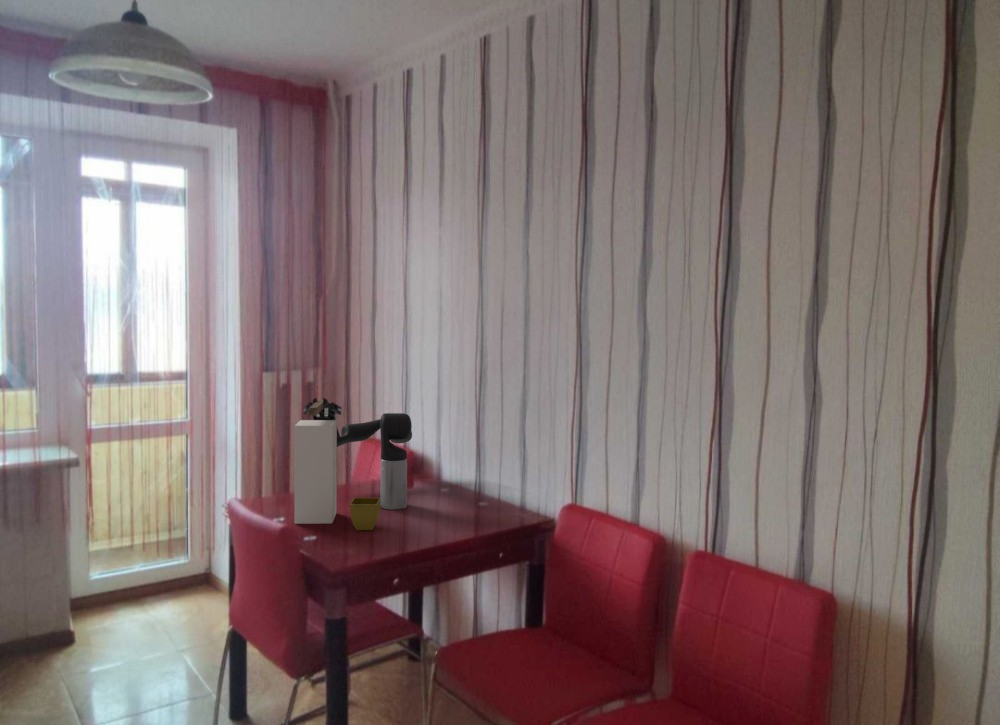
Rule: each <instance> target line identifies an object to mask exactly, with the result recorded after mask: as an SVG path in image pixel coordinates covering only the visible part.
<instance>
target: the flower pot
mask: <svg viewBox="0 0 1000 725" xmlns="http://www.w3.org/2000/svg"><path fill="white" fill-rule="evenodd" d="M380 500H381V498H380V497H353V498H352V499H351V502H350V503H349V511H350V512H349V513H350V517H351V518H350V519H351V523H352V524H353V527H354V528H355V530H356V531H372V530H374V527H375V526H376V524H377V521H378V520H379V515H380V512H381V511H380V508H381V507H380Z"/></svg>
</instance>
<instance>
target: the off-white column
mask: <svg viewBox="0 0 1000 725" xmlns="http://www.w3.org/2000/svg"><path fill="white" fill-rule="evenodd" d="M337 422H338V420H337V419H336V420H314V419H301V420H299V421H298V422H297V423H296V424H295V425H294V427H293V428H294V432H293V433H294V440H293V442H294V444H293V445H294V446H293V447H294V453H293V454H294V461H293V462H294V465H293V466H294V471H293V472H294V487H293V488H294V505H293V506H294V517H293V518H294V522H293V523H294V524H295V525H299V524H300V525H303V524H305V525H307V524H309V525H311V524H315V525H316V524H333V522H334V520H335V518H336V515H337V475H338V474H337V473H338V472H337V466H338V465H337V460H338V459H337V453H338V452H337V450H338V449H337V448H338V447H337V428H338V424H337Z"/></svg>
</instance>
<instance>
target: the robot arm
mask: <svg viewBox="0 0 1000 725" xmlns="http://www.w3.org/2000/svg"><path fill="white" fill-rule="evenodd" d="M322 400H323V405H324V409H323V410H322V411H321V412H320V413H319V414H318V415H311V416H312V417H313V419H312V420H337V417H336V414H337V415H339V416H340V415H342V407H341V406H339V405H338V404H336V403H335V402H333V401H332V402H329V401H328V399H327V398H326V397H323V398H322ZM317 401H318V398H317V397H314V399H312V401H309V402H307V404H306V405H305V406H304V407H303V415H309V408H310V407H311V406H312V405H313V404H314V403H315V402H317ZM412 428H413V427H412V419H411V417H410V416H409V414H407V413H398V412H397V413H396V412H395V413H394V412H388V413H383V414H382V415H381V416H380V418H379V419H376V420H371V421H367V422H359V423H348V424H344V425H343V426H342V427H341V430H340V431H341V432H339V428H338V427H337V448H339V447H341V446H343V445H345V444H346V445H347V444H348V443H356V442H357V443H358V442H362V441H367V440H368V439H370V438H371V437H372V436H373V435H375V434H376V433H377V432H378V431H379V430H380V431H379V432H380V489H379V490H380V494H379V495H380V497H379V498H381V500H380V508H382V509H384V510H392V511H393V510H402V509H407V505H408V495H407V494H408V478H407V477H408V451H407V450H406V449H405V448H402V447H399V446H397V445H395V444H404V443H408V442H410V441H411V439H412V437H413V432H412ZM340 433H341V435H340ZM393 443H394V444H393Z"/></svg>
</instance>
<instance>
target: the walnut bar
mask: <svg viewBox="0 0 1000 725" xmlns="http://www.w3.org/2000/svg"><path fill="white" fill-rule="evenodd" d="M323 409H324V405H323V399H317V402H315V403H314V404H313V405H312V406H311V407H310V408H309V414H308V415H309V416H312V415H318V414H319V413H320V412H321V411H322V410H323Z"/></svg>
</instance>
